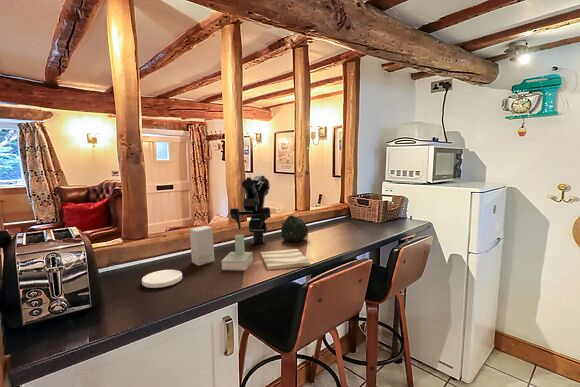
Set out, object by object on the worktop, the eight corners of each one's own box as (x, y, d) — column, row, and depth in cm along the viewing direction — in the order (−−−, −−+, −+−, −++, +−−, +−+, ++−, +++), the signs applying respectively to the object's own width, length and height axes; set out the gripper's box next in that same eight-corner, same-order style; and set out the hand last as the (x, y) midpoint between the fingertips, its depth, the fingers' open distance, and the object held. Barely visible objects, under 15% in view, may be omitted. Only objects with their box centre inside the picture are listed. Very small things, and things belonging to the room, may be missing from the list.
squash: (312, 227, 178) (294, 208, 177) (311, 234, 163) (292, 214, 163) (294, 243, 181) (277, 224, 180) (292, 252, 166) (273, 231, 165)
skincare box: (207, 258, 143) (206, 225, 142) (215, 261, 139) (213, 227, 137) (191, 262, 138) (188, 228, 136) (198, 266, 133) (196, 230, 131)
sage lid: (230, 255, 139) (229, 234, 138) (252, 255, 138) (251, 234, 137) (221, 264, 127) (220, 241, 126) (245, 264, 126) (244, 241, 125)
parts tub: (230, 260, 139) (230, 254, 139) (252, 260, 138) (252, 254, 138) (222, 270, 128) (221, 262, 127) (245, 270, 126) (245, 263, 126)
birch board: (260, 255, 146) (260, 252, 146) (297, 252, 150) (297, 249, 150) (267, 269, 127) (267, 266, 126) (309, 265, 131) (309, 262, 131)
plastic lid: (189, 277, 122) (189, 270, 121) (168, 291, 108) (167, 284, 108) (158, 274, 125) (157, 268, 125) (133, 288, 111) (133, 282, 111)
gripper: (229, 191, 145) (225, 220, 136) (269, 190, 145) (268, 219, 136) (233, 204, 154) (230, 232, 145) (270, 203, 154) (270, 231, 145)
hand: (249, 228), depth 143 cm, fingers open, 9 cm apart
